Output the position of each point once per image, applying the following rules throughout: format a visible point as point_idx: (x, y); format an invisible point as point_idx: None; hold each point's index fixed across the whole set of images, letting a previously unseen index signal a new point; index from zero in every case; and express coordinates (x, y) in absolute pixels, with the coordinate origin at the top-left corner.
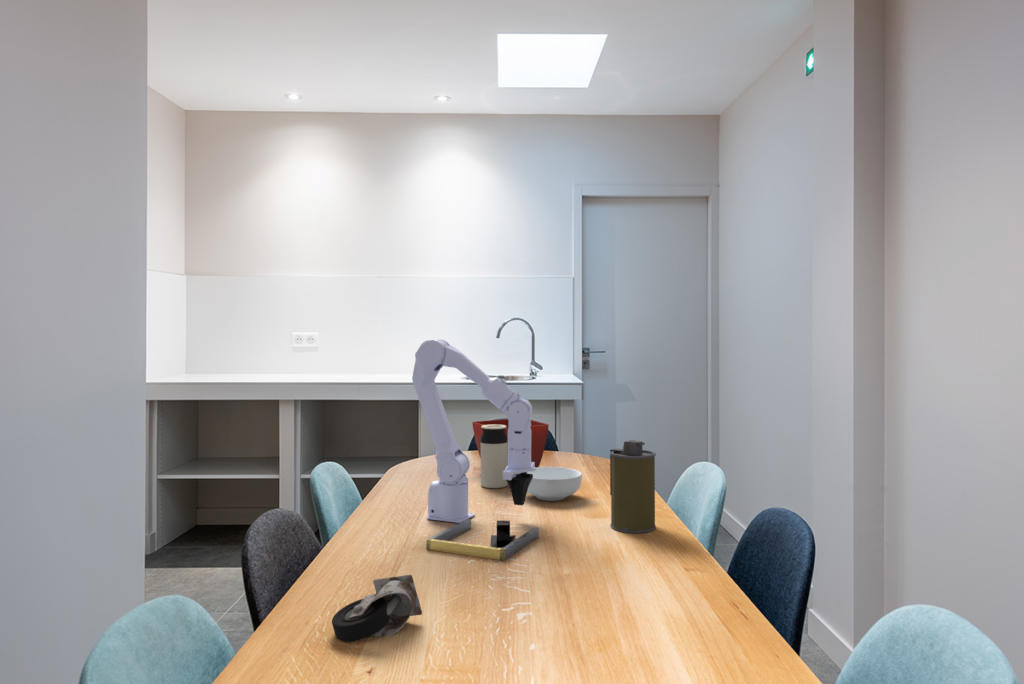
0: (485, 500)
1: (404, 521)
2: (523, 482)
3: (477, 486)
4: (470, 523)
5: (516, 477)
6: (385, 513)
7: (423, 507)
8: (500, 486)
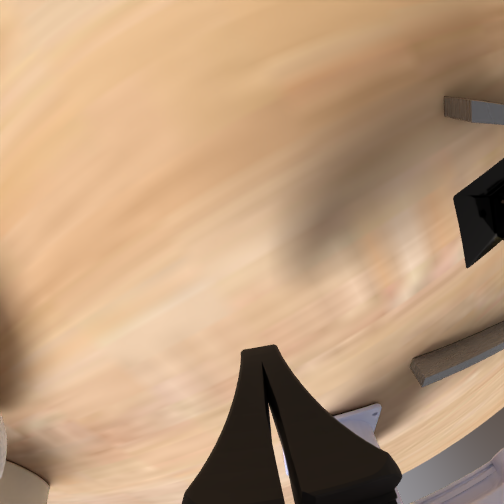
0: (114, 466)
1: None
2: (381, 452)
3: (54, 490)
4: (422, 368)
5: (392, 501)
6: None
7: None
8: (18, 468)
